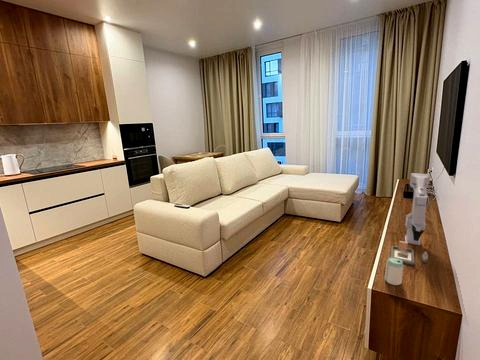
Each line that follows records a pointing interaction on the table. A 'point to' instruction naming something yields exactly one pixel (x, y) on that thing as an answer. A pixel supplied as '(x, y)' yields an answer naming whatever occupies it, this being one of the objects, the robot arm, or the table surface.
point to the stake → (424, 257)
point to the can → (394, 271)
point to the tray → (395, 248)
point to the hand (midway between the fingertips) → (415, 237)
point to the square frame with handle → (403, 251)
